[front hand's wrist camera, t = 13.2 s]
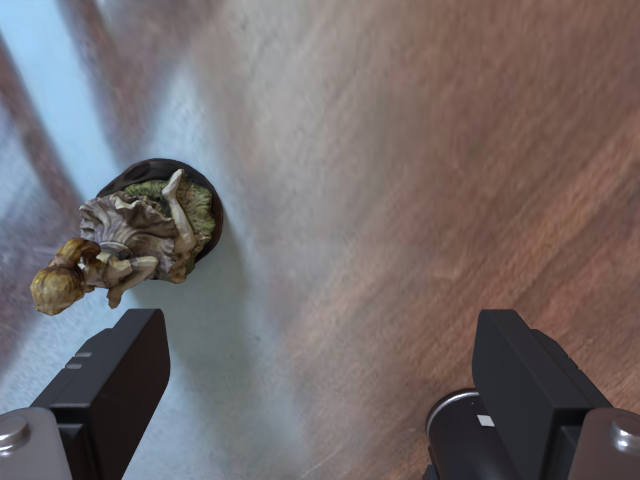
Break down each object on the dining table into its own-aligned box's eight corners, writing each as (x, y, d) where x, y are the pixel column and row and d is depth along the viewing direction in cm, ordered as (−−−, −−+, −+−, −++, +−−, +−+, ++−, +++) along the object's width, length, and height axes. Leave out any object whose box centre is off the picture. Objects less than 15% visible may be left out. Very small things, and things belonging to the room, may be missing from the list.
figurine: (115, 287, 42) (11, 395, 28) (71, 174, 38) (-75, 233, 24) (238, 265, 41) (195, 365, 27) (205, 148, 37) (136, 193, 23)
